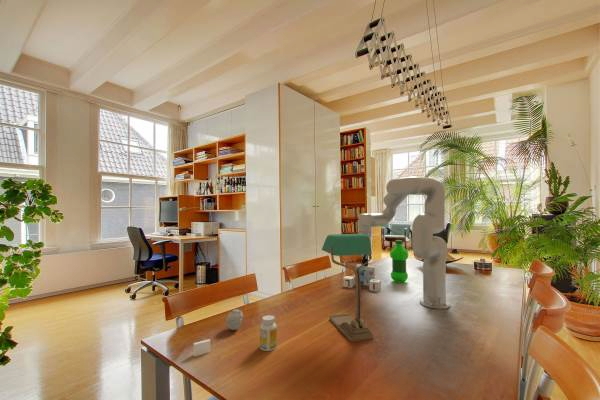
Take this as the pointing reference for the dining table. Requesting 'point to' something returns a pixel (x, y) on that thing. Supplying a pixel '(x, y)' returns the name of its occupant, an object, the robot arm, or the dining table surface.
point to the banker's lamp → (355, 246)
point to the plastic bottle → (399, 262)
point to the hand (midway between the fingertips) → (365, 265)
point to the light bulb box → (366, 274)
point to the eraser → (201, 347)
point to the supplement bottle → (268, 333)
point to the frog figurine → (234, 319)
